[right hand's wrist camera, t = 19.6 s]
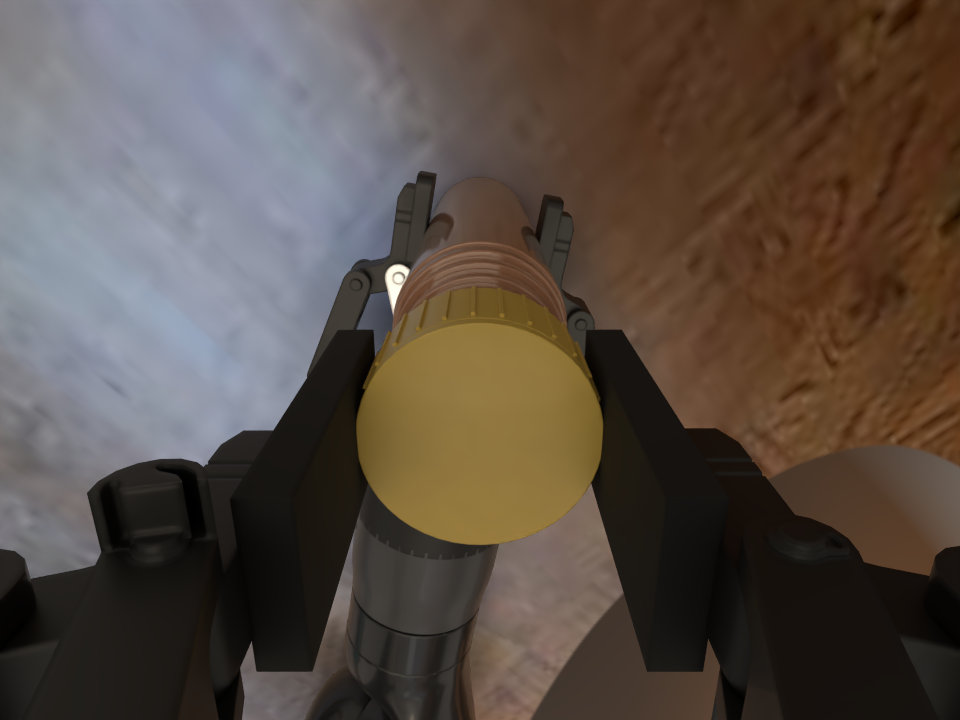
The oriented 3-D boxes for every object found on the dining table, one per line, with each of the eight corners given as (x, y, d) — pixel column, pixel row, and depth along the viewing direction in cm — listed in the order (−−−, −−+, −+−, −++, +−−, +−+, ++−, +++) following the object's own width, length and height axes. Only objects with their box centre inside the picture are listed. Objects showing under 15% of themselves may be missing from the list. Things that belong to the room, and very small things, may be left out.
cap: (597, 466, 15) (618, 530, 13) (397, 494, 15) (382, 562, 13) (573, 268, 14) (593, 300, 11) (350, 304, 14) (325, 342, 11)
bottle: (477, 156, 34) (471, 248, 12) (545, 222, 35) (659, 419, 13) (414, 227, 35) (301, 432, 13) (482, 288, 36) (486, 572, 14)
